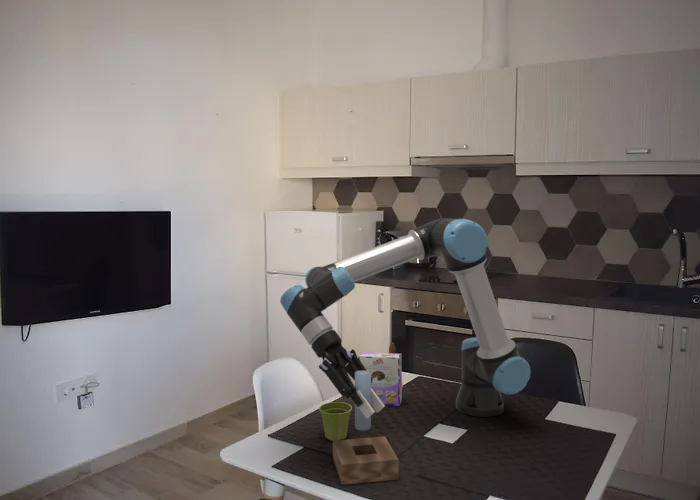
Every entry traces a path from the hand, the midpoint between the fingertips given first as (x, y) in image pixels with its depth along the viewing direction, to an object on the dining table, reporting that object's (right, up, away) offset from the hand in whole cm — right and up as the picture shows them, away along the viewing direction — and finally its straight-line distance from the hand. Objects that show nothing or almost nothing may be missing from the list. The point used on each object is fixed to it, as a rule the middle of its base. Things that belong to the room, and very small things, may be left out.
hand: (375, 412), depth 145 cm
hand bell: (+9, -10, +69) cm, 70 cm away
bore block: (-3, -15, +4) cm, 16 cm away
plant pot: (-10, -14, +24) cm, 29 cm away
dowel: (-3, -4, +3) cm, 6 cm away
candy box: (+4, -11, +51) cm, 53 cm away
